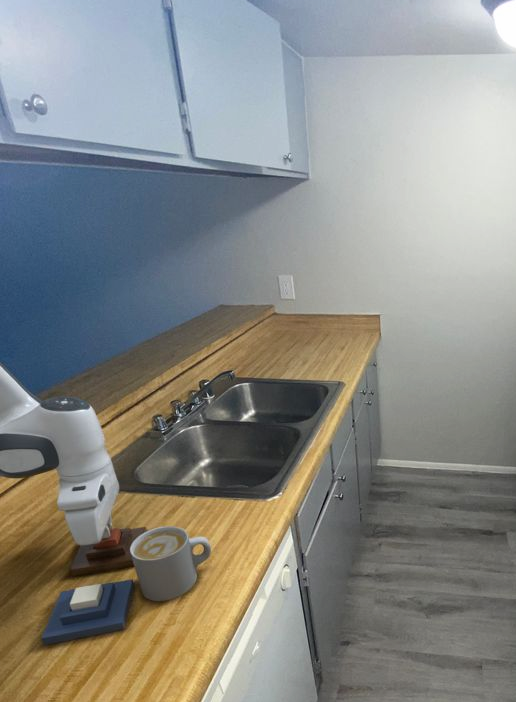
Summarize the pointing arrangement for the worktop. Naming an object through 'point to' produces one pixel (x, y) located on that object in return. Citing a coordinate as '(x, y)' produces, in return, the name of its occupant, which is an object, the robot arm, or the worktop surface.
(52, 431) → the robot arm
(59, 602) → the blue stepped button base
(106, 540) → the red square button
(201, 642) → the worktop surface
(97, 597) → the white square button cap
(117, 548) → the brown stepped button base
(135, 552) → the coffee mug
